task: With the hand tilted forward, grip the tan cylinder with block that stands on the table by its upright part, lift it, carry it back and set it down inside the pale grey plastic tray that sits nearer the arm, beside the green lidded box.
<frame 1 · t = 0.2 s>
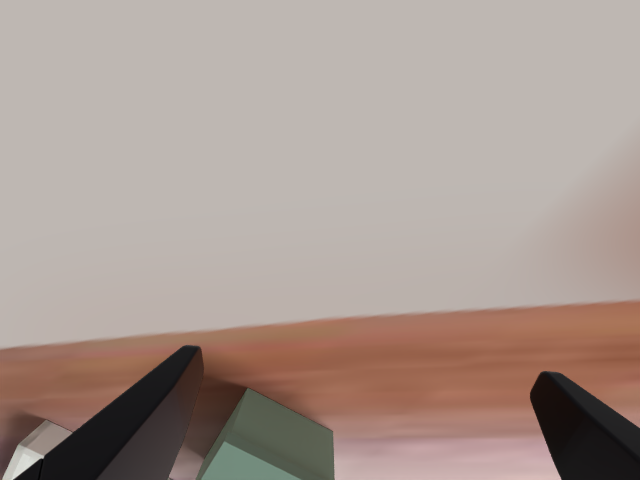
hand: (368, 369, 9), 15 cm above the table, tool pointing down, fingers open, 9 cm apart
green lidded box: (267, 445, 27), on the table
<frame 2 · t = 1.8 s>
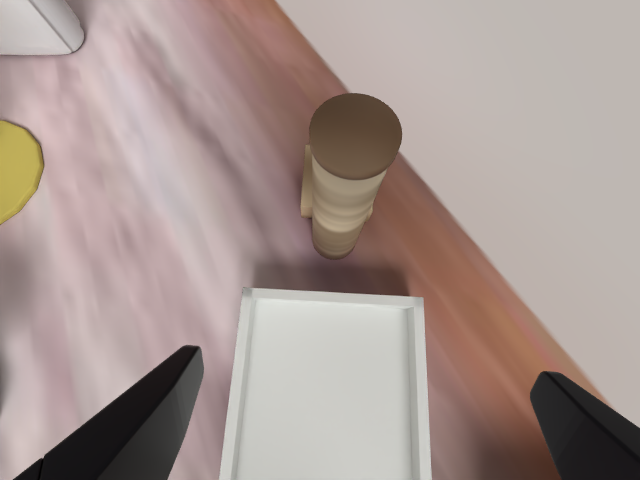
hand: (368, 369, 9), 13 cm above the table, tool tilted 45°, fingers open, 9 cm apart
tray: (326, 403, 20), on the table
tan cylinder with block: (334, 238, 24), on the table
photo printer: (29, 43, 29), on the table
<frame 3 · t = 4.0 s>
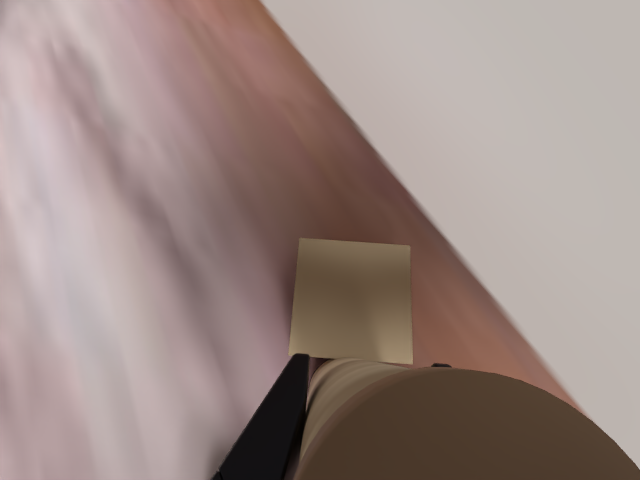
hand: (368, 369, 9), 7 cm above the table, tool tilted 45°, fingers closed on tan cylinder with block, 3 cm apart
tan cylinder with block: (344, 394, 14), on the table, touching gripper
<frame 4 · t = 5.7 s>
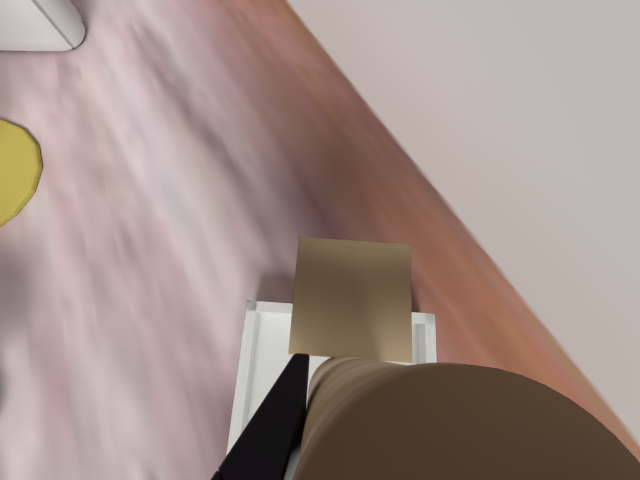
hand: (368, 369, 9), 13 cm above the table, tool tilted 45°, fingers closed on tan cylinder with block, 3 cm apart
tray: (332, 420, 20), on the table
tan cylinder with block: (344, 393, 14), point 6 cm above the table, touching gripper
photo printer: (29, 38, 28), on the table
when the fingers open (8 cm above the table, at t = 7.3 s): tan cylinder with block stays where it is, resting on tray.
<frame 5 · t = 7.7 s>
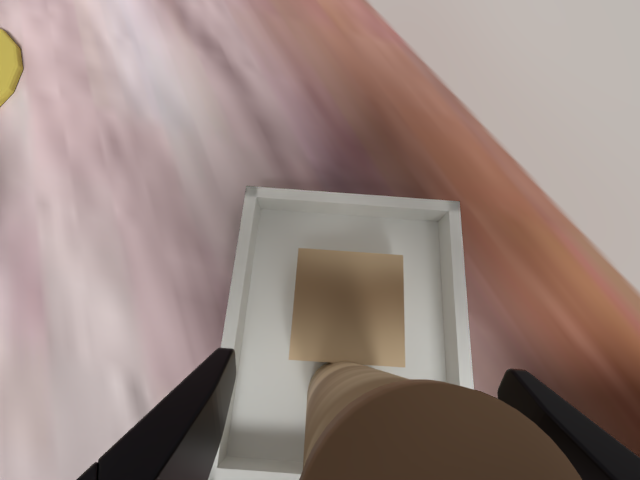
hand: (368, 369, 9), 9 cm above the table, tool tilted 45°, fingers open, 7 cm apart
tray: (342, 326, 17), on the table
tan cylinder with block: (341, 395, 15), point 1 cm above the table, touching tray
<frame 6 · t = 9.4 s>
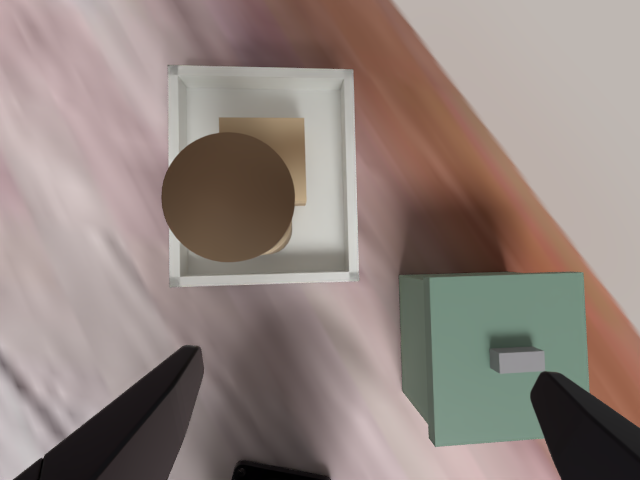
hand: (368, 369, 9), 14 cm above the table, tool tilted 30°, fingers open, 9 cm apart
tray: (267, 183, 22), on the table
green lidded box: (456, 330, 23), on the table
tan cylinder with block: (267, 229, 21), point 1 cm above the table, touching tray
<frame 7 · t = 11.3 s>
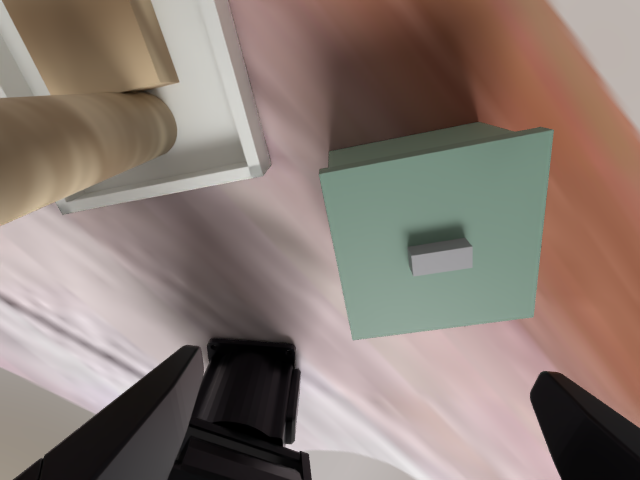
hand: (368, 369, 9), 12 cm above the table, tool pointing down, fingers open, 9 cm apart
tray: (128, 55, 16), on the table
green lidded box: (408, 205, 19), on the table
tan cylinder with block: (145, 125, 17), point 1 cm above the table, touching tray
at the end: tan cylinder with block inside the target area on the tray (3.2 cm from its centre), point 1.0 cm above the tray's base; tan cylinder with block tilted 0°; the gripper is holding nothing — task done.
